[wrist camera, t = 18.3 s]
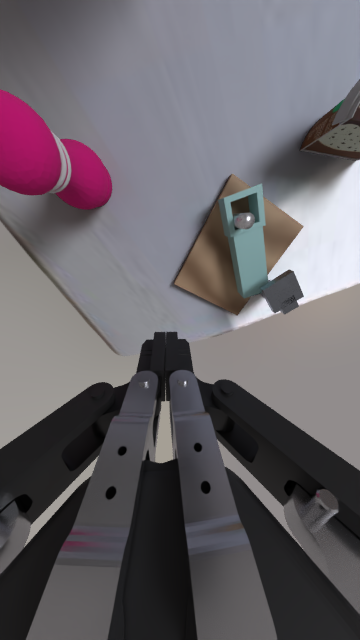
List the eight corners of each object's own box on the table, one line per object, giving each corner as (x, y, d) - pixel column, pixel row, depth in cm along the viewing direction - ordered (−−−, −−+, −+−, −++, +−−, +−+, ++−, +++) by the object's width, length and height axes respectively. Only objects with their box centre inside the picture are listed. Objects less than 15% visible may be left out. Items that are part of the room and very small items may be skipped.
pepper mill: (119, 210, 30) (49, 198, 12) (74, 211, 30) (-62, 200, 12) (110, 151, 27) (-3, 21, 9) (59, 152, 26) (-161, 18, 9)
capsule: (229, 211, 31) (246, 209, 24) (239, 217, 31) (257, 217, 25) (222, 223, 32) (237, 224, 25) (232, 229, 32) (248, 232, 26)
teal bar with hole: (262, 283, 36) (271, 289, 33) (235, 292, 37) (241, 299, 34) (251, 187, 28) (262, 183, 25) (217, 200, 29) (223, 197, 26)
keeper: (243, 276, 36) (262, 290, 29) (267, 260, 35) (293, 271, 28) (257, 299, 39) (277, 318, 32) (279, 285, 38) (306, 302, 30)
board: (230, 175, 29) (232, 173, 28) (299, 226, 33) (303, 226, 31) (174, 282, 36) (174, 284, 35) (235, 312, 40) (237, 315, 39)
